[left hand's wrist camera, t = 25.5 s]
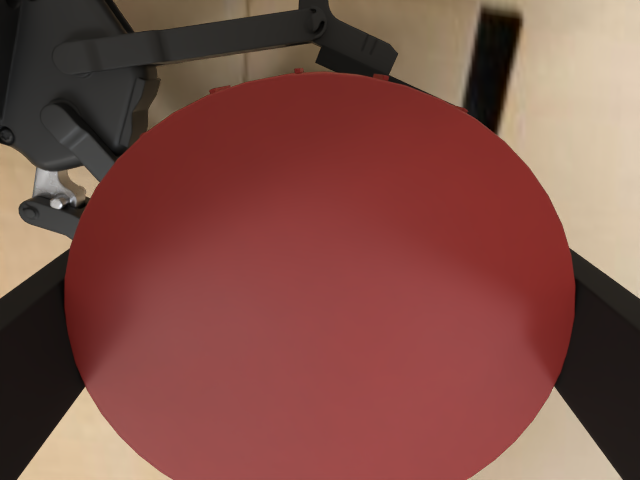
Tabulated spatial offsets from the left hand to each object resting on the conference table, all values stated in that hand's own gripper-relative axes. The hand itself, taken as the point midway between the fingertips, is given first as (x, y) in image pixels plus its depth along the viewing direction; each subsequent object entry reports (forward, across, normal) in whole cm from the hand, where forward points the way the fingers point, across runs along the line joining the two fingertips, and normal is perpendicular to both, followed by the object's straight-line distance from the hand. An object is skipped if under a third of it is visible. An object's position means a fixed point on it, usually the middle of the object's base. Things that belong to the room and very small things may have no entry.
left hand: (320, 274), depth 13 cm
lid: (-3, 0, 0) cm, 3 cm away
